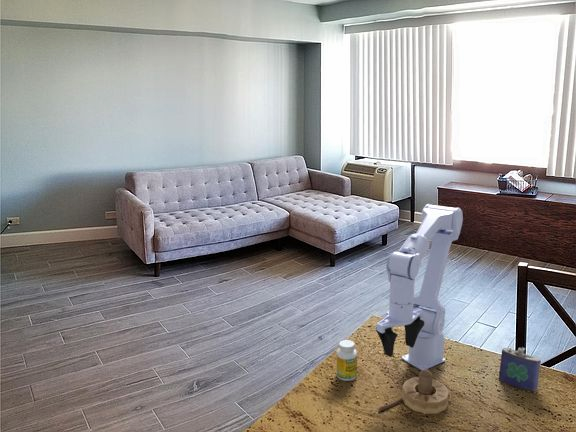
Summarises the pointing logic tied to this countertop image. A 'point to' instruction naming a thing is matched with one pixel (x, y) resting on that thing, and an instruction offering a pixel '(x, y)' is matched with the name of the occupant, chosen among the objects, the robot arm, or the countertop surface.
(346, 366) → the supplement bottle
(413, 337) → the robot arm
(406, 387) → the wooden ring with handle
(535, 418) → the countertop surface
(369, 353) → the countertop surface
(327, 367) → the countertop surface
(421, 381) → the brown rounded cylinder
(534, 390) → the flask
